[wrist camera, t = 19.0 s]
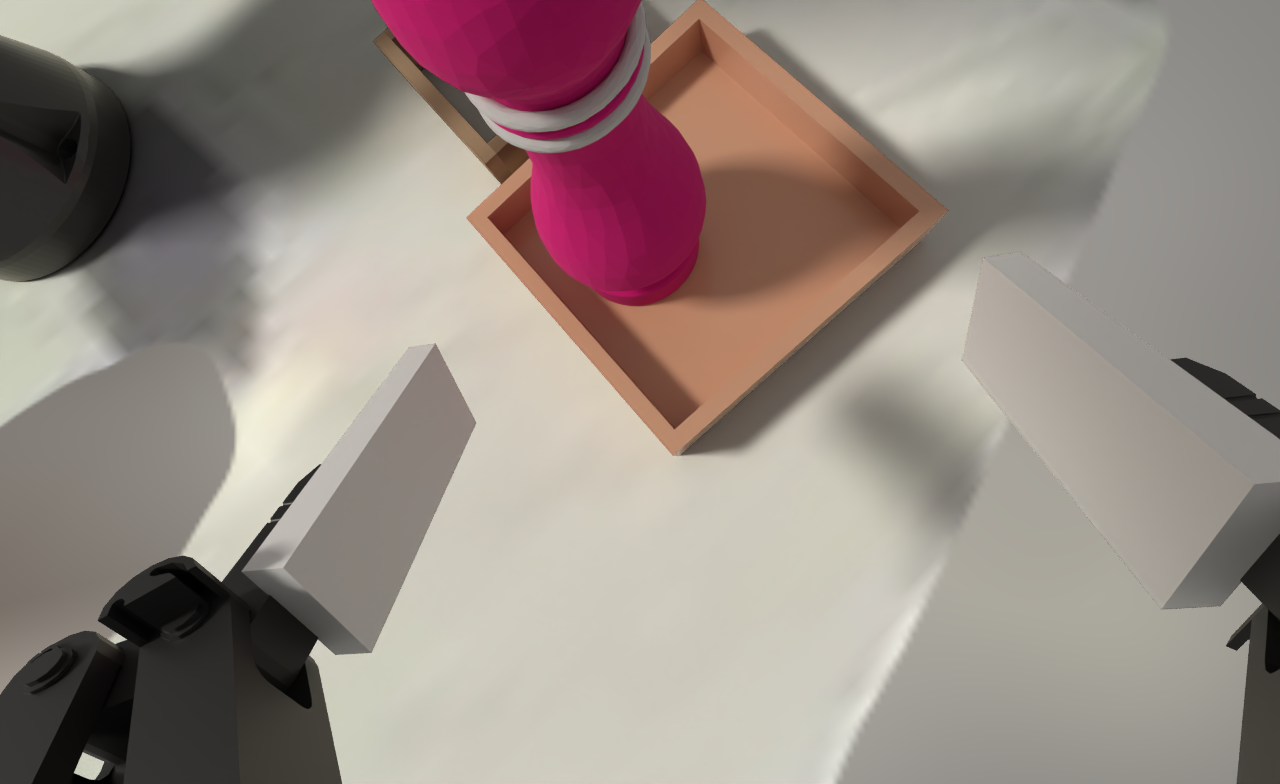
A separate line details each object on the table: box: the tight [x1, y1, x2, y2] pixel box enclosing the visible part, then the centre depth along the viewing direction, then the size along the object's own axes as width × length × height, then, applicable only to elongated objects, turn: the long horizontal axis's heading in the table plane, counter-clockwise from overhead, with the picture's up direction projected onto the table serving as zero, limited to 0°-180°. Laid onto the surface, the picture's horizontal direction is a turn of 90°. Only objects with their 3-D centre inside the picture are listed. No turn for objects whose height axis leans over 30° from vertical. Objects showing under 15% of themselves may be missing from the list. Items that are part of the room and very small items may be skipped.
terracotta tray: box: [466, 0, 949, 456], centre depth 25 cm, size 16×16×3 cm
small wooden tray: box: [373, 27, 529, 184], centre depth 28 cm, size 11×11×2 cm
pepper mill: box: [371, 0, 706, 306], centre depth 16 cm, size 7×7×20 cm
